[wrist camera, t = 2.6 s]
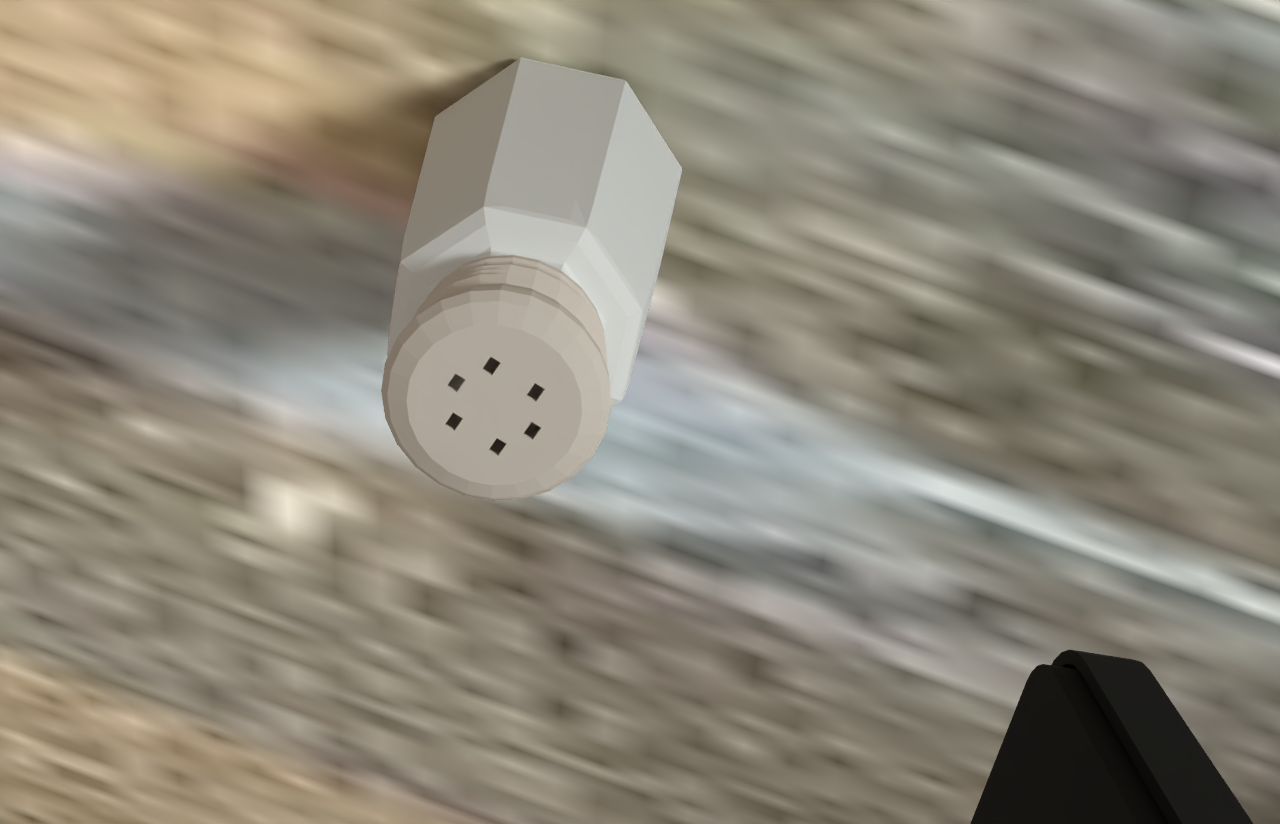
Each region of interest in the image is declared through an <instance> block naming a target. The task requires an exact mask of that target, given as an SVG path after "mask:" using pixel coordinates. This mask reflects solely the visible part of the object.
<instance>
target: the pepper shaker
mask: <svg viewBox="0 0 1280 824" xmlns="http://www.w3.org/2000/svg"><path fill="white" fill-rule="evenodd" d="M681 172H682V168H681V166H680V165H679V163H678V162H677V160H676V158H675V157H674V155H673V154H672V152H671V151H670V149H669V147H668V146H667V144H666V143H665V141H664V140H663V138H662V137H661V135H660V133H659V132H658V130H657V129H656V127H655V126H654V124H653V122H652V121H651V119H650V118H649V116H648V115H647V113H646V111H645V110H644V108H643V107H642V105H641V104H640V102H639V100H638V99H637V97H636V96H635V94H634V93H633V91H632V89H631V88H630V86H629V85H628V83H627V82H626V80H622V79H617V78H613V77H608V76H604V75H599V74H594V73H590V72H585V71H581V70H576V69H572V68H567V67H562V66H558V65H553V64H549V63H544V62H539V61H535V60H530V59H526V58H519V59H518V60H516V61H515V62H514V63H512V64H511V65H509V66H508V67H506V68H505V69H503V70H502V71H500V72H499V73H498V74H496V75H495V76H493V77H492V78H490V79H489V80H487V81H486V82H484V83H483V84H482V85H480V86H479V87H477V88H476V89H474V90H473V91H471V92H470V93H469V94H467V95H466V96H464V97H463V98H461V99H460V100H458V101H457V102H455V103H454V104H453V105H451V106H450V107H448V108H447V109H445V110H444V111H442V112H441V113H439V114H438V115H437V116H435V118H434V122H433V126H432V130H431V134H430V138H429V142H428V145H427V149H426V153H425V157H424V161H423V165H422V169H421V173H420V176H419V180H418V184H417V188H416V192H415V196H414V200H413V204H412V207H411V211H410V215H409V219H408V223H407V227H406V231H405V235H404V238H403V243H402V252H401V261H400V265H399V269H398V273H397V279H396V287H395V294H394V301H393V308H392V316H391V323H390V330H389V339H388V358H387V361H386V363H385V368H384V376H383V383H382V390H381V392H382V398H383V405H384V412H385V418H386V421H387V423H388V425H389V427H390V429H391V432H392V434H393V436H394V438H395V441H396V443H397V445H398V446H399V447H400V448H401V449H402V451H403V452H404V453H405V454H406V456H407V457H408V458H409V459H410V461H411V462H412V463H413V464H414V466H415V467H417V468H418V469H419V470H421V471H422V472H423V473H425V474H426V475H427V476H429V477H430V478H431V479H433V480H434V481H435V482H437V483H438V484H440V485H443V486H445V487H447V488H449V489H452V490H454V491H456V492H459V493H461V494H463V495H467V496H472V497H478V498H483V499H488V500H512V499H524V498H527V497H531V496H534V495H537V494H541V493H544V492H548V491H550V490H552V489H554V488H555V487H557V486H559V485H560V484H562V483H564V482H565V481H567V480H569V479H570V478H572V477H574V476H575V475H576V474H577V473H578V472H579V470H580V469H581V468H582V467H583V466H584V465H585V464H586V463H587V462H588V461H589V460H590V459H591V458H592V457H593V455H594V453H595V452H596V450H597V448H598V446H599V444H600V443H601V441H602V439H603V437H604V435H605V433H606V429H607V424H608V420H609V415H610V411H611V407H612V406H614V405H616V404H617V403H619V402H621V401H622V399H623V397H624V395H625V392H626V390H627V388H628V385H629V382H630V378H631V375H632V371H633V367H634V363H635V359H636V356H637V352H638V348H639V344H640V340H641V337H642V333H643V329H644V325H645V321H646V318H647V314H648V310H649V306H650V302H651V299H652V295H653V291H654V287H655V283H656V280H657V276H658V272H659V268H660V264H661V260H662V255H663V251H664V247H665V242H666V238H667V233H668V229H669V225H670V220H671V216H672V212H673V207H674V203H675V198H676V194H677V190H678V185H679V181H680V177H681Z"/></svg>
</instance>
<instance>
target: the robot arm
mask: <svg viewBox="0 0 1280 824" xmlns="http://www.w3.org/2000/svg"><path fill="white" fill-rule="evenodd" d="M971 824H1253V823H1252V821H1251V820H1250V818H1249V817H1248V815H1247V814H1246V812H1245V811H1244V809H1243V808H1242V806H1241V805H1240V803H1239V802H1238V800H1237V799H1236V797H1235V796H1234V794H1233V793H1232V791H1231V790H1230V788H1229V787H1228V785H1227V784H1226V782H1225V781H1224V779H1223V778H1222V777H1221V775H1220V774H1219V772H1218V771H1217V769H1216V768H1215V766H1214V765H1213V763H1212V762H1211V760H1210V759H1209V757H1208V756H1207V754H1206V753H1205V751H1204V750H1203V748H1202V747H1201V745H1200V744H1199V742H1198V741H1197V739H1196V738H1195V736H1194V735H1193V733H1192V732H1191V730H1190V729H1189V727H1188V726H1187V725H1186V723H1185V722H1184V720H1183V719H1182V717H1181V716H1180V714H1179V713H1178V711H1177V710H1176V708H1175V707H1174V705H1173V704H1172V702H1171V701H1170V699H1169V698H1168V696H1167V695H1166V693H1165V692H1164V690H1163V689H1162V687H1161V686H1160V684H1159V683H1158V681H1157V680H1156V678H1155V677H1154V675H1153V674H1152V673H1151V671H1150V670H1149V669H1148V668H1147V667H1146V666H1145V665H1144V664H1143V663H1142V662H1139V661H1136V660H1132V659H1126V658H1119V657H1113V656H1107V655H1100V654H1094V653H1088V652H1081V651H1075V650H1067V651H1064V652H1061V654H1060V655H1059V656H1058V657H1057V658H1056V659H1055V660H1054V661H1053V663H1052V665H1045V664H1042V665H1039V666H1037V667H1036V668H1035V669H1034V670H1033V671H1032V672H1031V674H1030V676H1029V678H1028V680H1027V682H1026V684H1025V687H1024V690H1023V692H1022V695H1021V697H1020V700H1019V702H1018V705H1017V707H1016V710H1015V712H1014V715H1013V717H1012V720H1011V722H1010V725H1009V728H1008V730H1007V733H1006V735H1005V738H1004V740H1003V743H1002V745H1001V748H1000V750H999V753H998V755H997V758H996V760H995V763H994V765H993V768H992V771H991V773H990V776H989V778H988V781H987V783H986V786H985V788H984V791H983V793H982V796H981V798H980V801H979V803H978V806H977V808H976V811H975V814H974V816H973V819H972V821H971Z"/></svg>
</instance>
